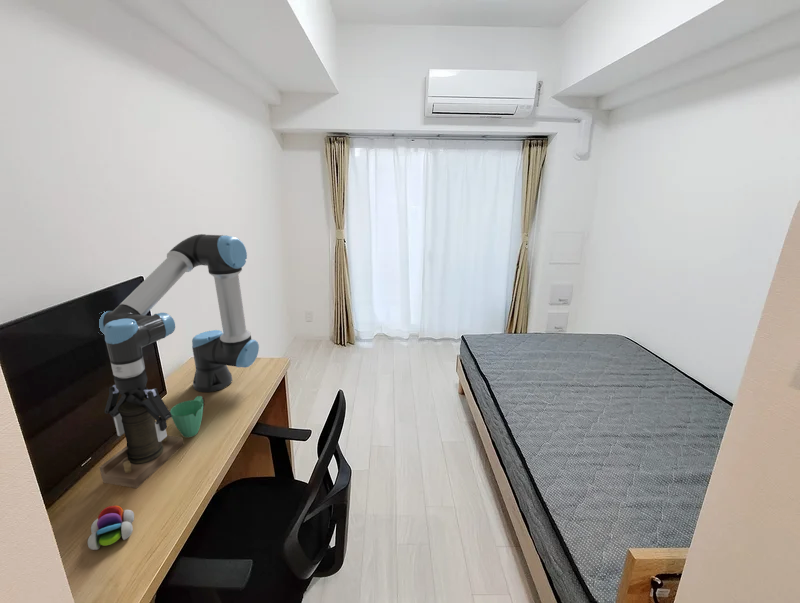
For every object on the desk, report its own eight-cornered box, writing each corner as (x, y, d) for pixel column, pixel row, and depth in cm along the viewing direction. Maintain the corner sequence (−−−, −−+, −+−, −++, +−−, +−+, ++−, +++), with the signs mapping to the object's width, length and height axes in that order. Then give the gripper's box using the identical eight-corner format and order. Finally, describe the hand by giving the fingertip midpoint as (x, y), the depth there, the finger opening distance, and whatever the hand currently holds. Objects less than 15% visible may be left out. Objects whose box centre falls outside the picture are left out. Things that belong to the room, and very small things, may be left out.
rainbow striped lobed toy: (136, 514, 100) (131, 491, 97) (132, 543, 91) (126, 520, 89) (95, 526, 96) (89, 503, 93) (87, 559, 87) (81, 534, 85)
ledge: (154, 440, 127) (151, 425, 125) (183, 445, 126) (181, 429, 124) (103, 482, 109) (98, 465, 107) (136, 488, 108) (133, 470, 106)
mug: (198, 442, 127) (194, 416, 124) (168, 442, 127) (163, 416, 124) (217, 416, 141) (214, 393, 138) (190, 416, 141) (186, 392, 138)
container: (170, 448, 119) (160, 398, 114) (144, 467, 111) (133, 415, 106) (147, 442, 122) (137, 393, 116) (120, 460, 114) (108, 409, 108)
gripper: (79, 374, 106) (95, 438, 113) (158, 383, 103) (170, 449, 109) (103, 362, 114) (116, 423, 120) (178, 371, 110) (188, 433, 116)
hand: (142, 436), depth 114 cm, fingers open, 13 cm apart
